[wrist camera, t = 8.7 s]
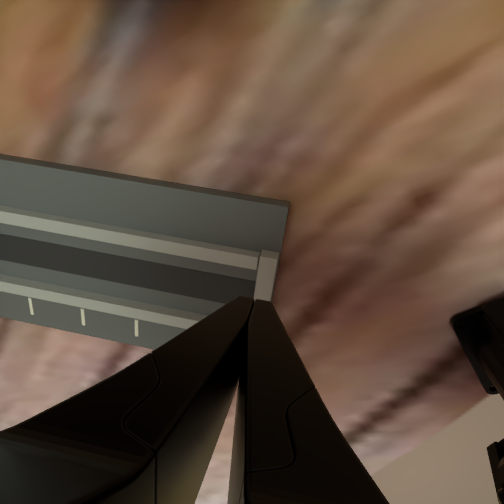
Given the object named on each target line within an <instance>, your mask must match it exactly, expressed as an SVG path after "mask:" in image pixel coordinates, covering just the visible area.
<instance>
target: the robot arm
mask: <svg viewBox="0 0 504 504" xmlns="http://www.w3.org/2000/svg"><path fill="white" fill-rule="evenodd" d="M462 321H463V323H462V324H461V325H457V324H458V323H459V322H462ZM450 323H451V326H452V328H453V330H454V331H455V333H456V335H457V337H458V339H459V341H460V343H461V345H462V347H463V349H464V351H465V353H466V355H467V357H468V359H469V361H470V363H471V365H472V367H473V368H474V370H475V372H476V374H477V376H478V378H479V380H480V382H481V384H482V386H483V388H484V389H485V391H486V392H487V393H489V394H498V393H499V394H500V395H501V397H502V398H503V400H504V297H503V298H500V299H498V300H495V301H492V302H490V303H487V304H485V305H482V306H479V307H477V308H474V309H471V310H469V311H466V312H463V313H461V314H458V315H455V316H454V317H453V318H452V319H451V321H450ZM238 382H239V385H238ZM237 385H238V393H237V403H236V414H235V425H234V436H233V448H232V459H231V470H230V481H229V492H228V503H227V504H389V502H388V501H387V499H386V498H385V496H384V495H383V494H382V492H381V491H380V489H379V488H378V486H377V485H376V483H375V482H374V480H373V479H372V477H371V476H370V475H369V473H368V472H367V470H366V469H365V467H364V466H363V464H362V463H361V461H360V460H359V458H358V457H357V455H356V454H355V453H354V451H353V450H352V448H351V447H350V445H349V444H348V442H347V441H346V439H345V437H344V436H343V434H342V433H341V431H340V430H339V428H338V427H337V425H336V424H335V422H334V420H333V419H332V417H331V415H330V413H329V411H328V410H327V408H326V406H325V404H324V403H323V401H322V399H321V397H320V395H319V393H318V391H317V389H316V388H315V385H314V383H313V382H312V380H311V378H310V376H309V374H308V372H307V370H306V368H305V366H304V364H303V362H302V360H301V358H300V356H299V355H298V353H297V351H296V349H295V347H294V345H293V343H292V341H291V339H290V337H289V335H288V333H287V331H286V329H285V327H284V326H283V324H282V322H281V320H280V318H279V316H278V314H277V312H276V310H275V308H274V306H273V304H272V303H271V302H270V301H266V300H261V299H256V300H255V301H254V299H253V298H250V297H245V296H237V297H236V298H234V299H233V300H231V301H230V302H228V303H227V304H225V305H223V306H222V307H220V308H219V309H217V310H216V311H214V312H213V313H211V314H209V315H208V316H206V317H205V318H203V319H202V320H200V321H199V322H197V323H195V324H194V325H192V326H191V327H189V328H188V329H186V330H185V331H183V332H181V333H180V334H178V335H177V336H175V337H174V338H172V339H171V340H169V341H167V342H166V343H164V344H163V345H161V346H160V347H158V348H157V349H155V350H153V351H152V352H151V353H149V354H147V355H145V356H144V357H142V358H141V359H139V360H138V361H136V362H134V363H133V364H131V365H129V366H128V367H126V368H124V369H123V370H121V371H119V372H118V373H116V374H114V375H112V376H111V377H109V378H107V379H105V380H103V381H101V382H99V383H98V384H96V385H94V386H92V387H90V388H88V389H86V390H84V391H82V392H80V393H78V394H76V395H74V396H73V397H71V398H69V399H67V400H65V401H63V402H61V403H59V404H57V405H55V406H53V407H51V408H49V409H47V410H45V411H43V412H41V413H39V414H37V415H35V416H33V417H32V418H30V419H28V420H26V421H23V422H21V423H19V424H17V425H15V426H13V427H10V428H7V429H5V430H2V431H0V504H194V503H195V500H196V498H197V495H198V492H199V490H200V487H201V484H202V481H203V479H204V476H205V473H206V471H207V468H208V465H209V462H210V460H211V457H212V454H213V452H214V449H215V446H216V443H217V441H218V438H219V435H220V432H221V430H222V427H223V424H224V422H225V419H226V416H227V413H228V411H229V408H230V405H231V403H232V400H233V397H234V394H235V391H236V388H237ZM491 386H493V387H491ZM487 451H488V456H489V460H490V465H491V469H492V474H493V479H494V483H495V488H496V492H497V498H498V502H499V504H504V439H502V440H501V441H499V442H494V443H492V444H491V445H489V446H488V447H487Z"/></svg>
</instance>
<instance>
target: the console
mask: <svg viewBox="0 0 504 504" xmlns="http://www.w3.org/2000/svg"><path fill="white" fill-rule="evenodd" d="M289 203H290V202H288V201H282V200H276V199H270V198H264V197H257V196H251V195H245V194H239V193H233V192H227V191H221V190H215V189H209V188H203V187H197V186H191V185H185V184H179V183H173V182H167V181H161V180H155V179H149V178H143V177H137V176H130V175H124V174H118V173H112V172H106V171H100V170H94V169H88V168H82V167H76V166H70V165H64V164H58V163H52V162H46V161H40V160H34V159H28V158H22V157H16V156H10V155H4V154H0V317H3V318H8V319H13V320H18V321H22V322H27V323H32V324H36V325H41V326H46V327H51V328H55V329H60V330H65V331H70V332H74V333H79V334H84V335H89V336H93V337H98V338H103V339H107V340H112V341H117V342H122V343H126V344H131V345H136V346H141V347H145V348H150V349H157V348H158V347H160V346H161V345H163V344H164V343H166V342H167V341H169V340H171V339H172V338H174V337H175V336H177V335H178V334H180V333H181V332H183V331H185V330H186V329H188V328H189V327H191V326H192V325H194V324H195V323H197V322H199V321H200V320H202V319H203V318H205V317H206V316H208V315H209V314H211V313H213V312H214V311H216V310H217V309H219V308H220V307H222V306H223V305H225V304H227V303H228V302H230V301H231V300H233V299H234V298H236V297H237V296H245V297H250V298H253V299H254V301H255V300H256V299H261V300H266V301H270V302H271V303H272V299H273V294H274V288H275V282H276V277H277V271H278V266H279V260H280V254H281V249H282V243H283V237H284V232H285V226H286V220H287V215H288V209H289Z"/></svg>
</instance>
